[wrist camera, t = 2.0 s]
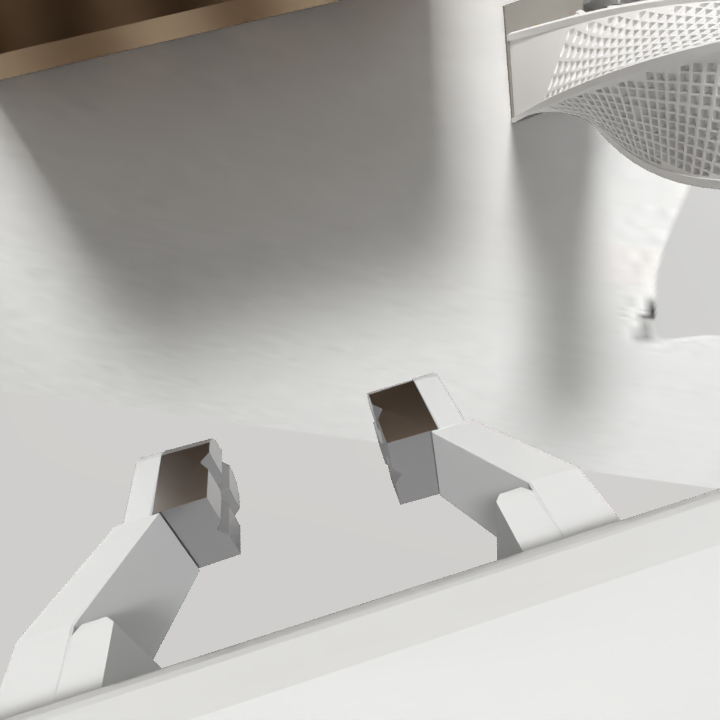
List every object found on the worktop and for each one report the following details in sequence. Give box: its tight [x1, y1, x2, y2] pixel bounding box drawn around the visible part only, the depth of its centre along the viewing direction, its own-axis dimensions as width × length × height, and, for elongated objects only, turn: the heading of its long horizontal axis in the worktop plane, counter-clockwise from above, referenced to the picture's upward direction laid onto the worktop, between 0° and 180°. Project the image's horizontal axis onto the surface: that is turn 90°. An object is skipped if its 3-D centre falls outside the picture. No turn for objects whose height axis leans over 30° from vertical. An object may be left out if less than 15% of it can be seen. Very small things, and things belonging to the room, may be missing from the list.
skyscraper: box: [503, 0, 720, 189], centre depth 22 cm, size 8×8×28 cm
